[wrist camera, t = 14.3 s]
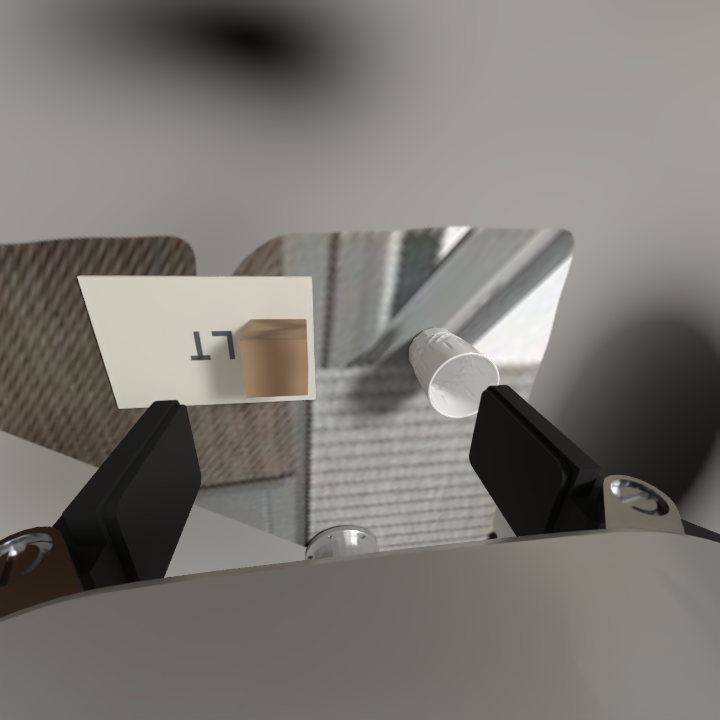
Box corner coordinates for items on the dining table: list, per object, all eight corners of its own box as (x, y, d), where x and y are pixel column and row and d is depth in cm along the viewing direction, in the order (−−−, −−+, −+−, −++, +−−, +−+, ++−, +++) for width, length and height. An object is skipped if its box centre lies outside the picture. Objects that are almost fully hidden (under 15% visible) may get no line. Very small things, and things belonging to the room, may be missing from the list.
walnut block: (306, 318, 39) (305, 339, 33) (308, 367, 42) (307, 395, 36) (250, 319, 38) (239, 340, 32) (255, 369, 41) (246, 397, 35)
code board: (311, 276, 38) (311, 277, 37) (315, 397, 44) (315, 399, 44) (80, 275, 35) (76, 276, 34) (121, 406, 41) (118, 409, 41)
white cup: (419, 314, 42) (450, 343, 33) (471, 333, 44) (513, 365, 35) (394, 367, 44) (415, 408, 35) (444, 383, 47) (476, 425, 38)
